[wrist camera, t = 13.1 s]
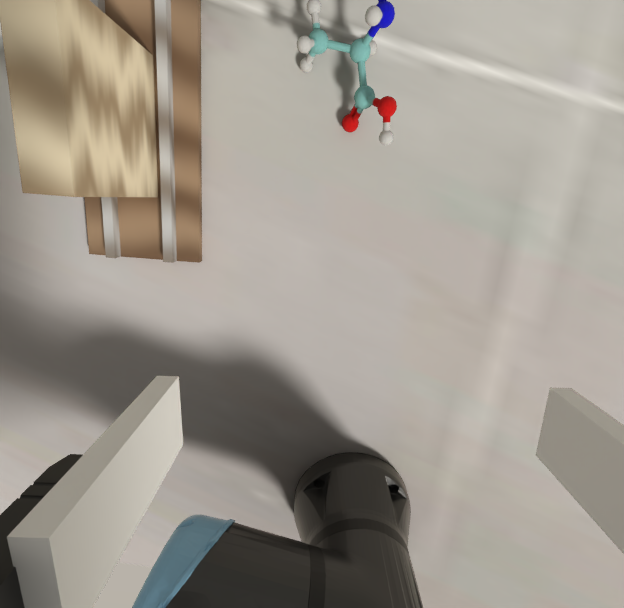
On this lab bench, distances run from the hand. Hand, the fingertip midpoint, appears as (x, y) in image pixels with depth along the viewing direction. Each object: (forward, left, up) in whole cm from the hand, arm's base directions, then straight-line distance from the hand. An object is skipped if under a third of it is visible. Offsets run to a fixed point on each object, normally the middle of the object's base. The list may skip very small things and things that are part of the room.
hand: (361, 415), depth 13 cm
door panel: (+13, +21, -29) cm, 37 cm away
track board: (+13, +21, -30) cm, 38 cm away
